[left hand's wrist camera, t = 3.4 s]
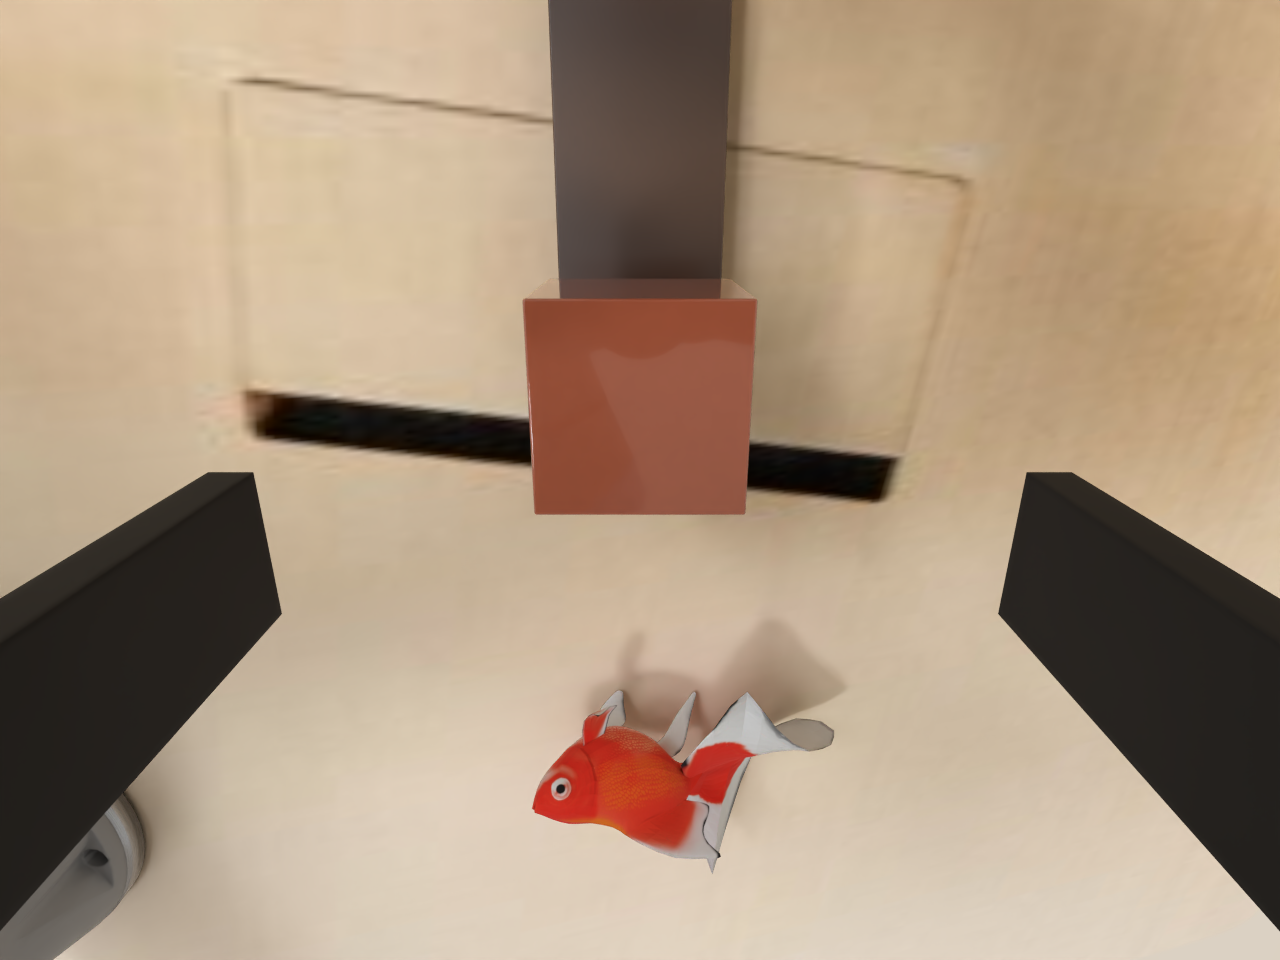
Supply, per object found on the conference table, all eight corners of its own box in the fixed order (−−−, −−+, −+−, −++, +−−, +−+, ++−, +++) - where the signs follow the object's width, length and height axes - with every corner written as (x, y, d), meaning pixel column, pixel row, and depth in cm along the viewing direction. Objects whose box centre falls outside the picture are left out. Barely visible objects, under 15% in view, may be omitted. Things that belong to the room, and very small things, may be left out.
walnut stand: (712, 396, 35) (735, 455, 26) (567, 396, 35) (544, 456, 26) (741, -394, 25) (792, -702, 16) (538, -394, 25) (487, -702, 16)
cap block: (723, 452, 27) (745, 515, 22) (556, 452, 27) (534, 515, 22) (731, 278, 25) (757, 298, 19) (548, 278, 25) (522, 298, 19)
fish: (548, 629, 34) (612, 846, 27) (808, 605, 41) (907, 771, 34) (502, 743, 40) (545, 939, 34) (733, 705, 48) (805, 861, 41)
